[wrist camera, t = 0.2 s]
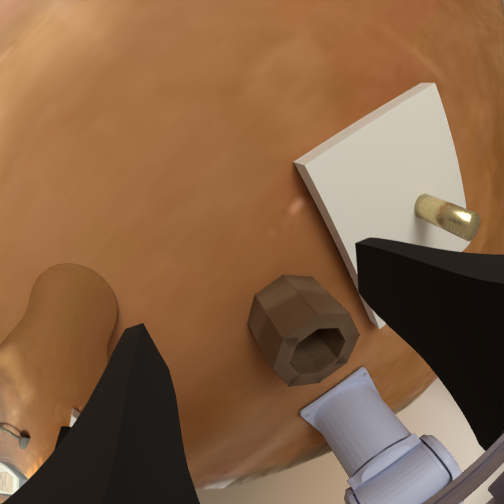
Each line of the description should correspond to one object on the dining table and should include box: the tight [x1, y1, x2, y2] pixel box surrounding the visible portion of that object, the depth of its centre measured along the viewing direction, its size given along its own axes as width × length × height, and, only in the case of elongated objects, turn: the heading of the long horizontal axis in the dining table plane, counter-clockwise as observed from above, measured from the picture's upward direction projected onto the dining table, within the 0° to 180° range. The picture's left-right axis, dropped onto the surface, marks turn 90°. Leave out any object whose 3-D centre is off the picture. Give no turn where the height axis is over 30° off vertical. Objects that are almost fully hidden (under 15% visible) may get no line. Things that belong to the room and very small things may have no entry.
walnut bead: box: [248, 275, 360, 387], centre depth 20 cm, size 6×6×5 cm
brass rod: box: [414, 193, 480, 241], centre depth 20 cm, size 2×2×6 cm
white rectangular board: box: [294, 83, 470, 329], centre depth 22 cm, size 16×13×2 cm
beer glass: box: [0, 264, 118, 504], centre depth 11 cm, size 7×7×15 cm
